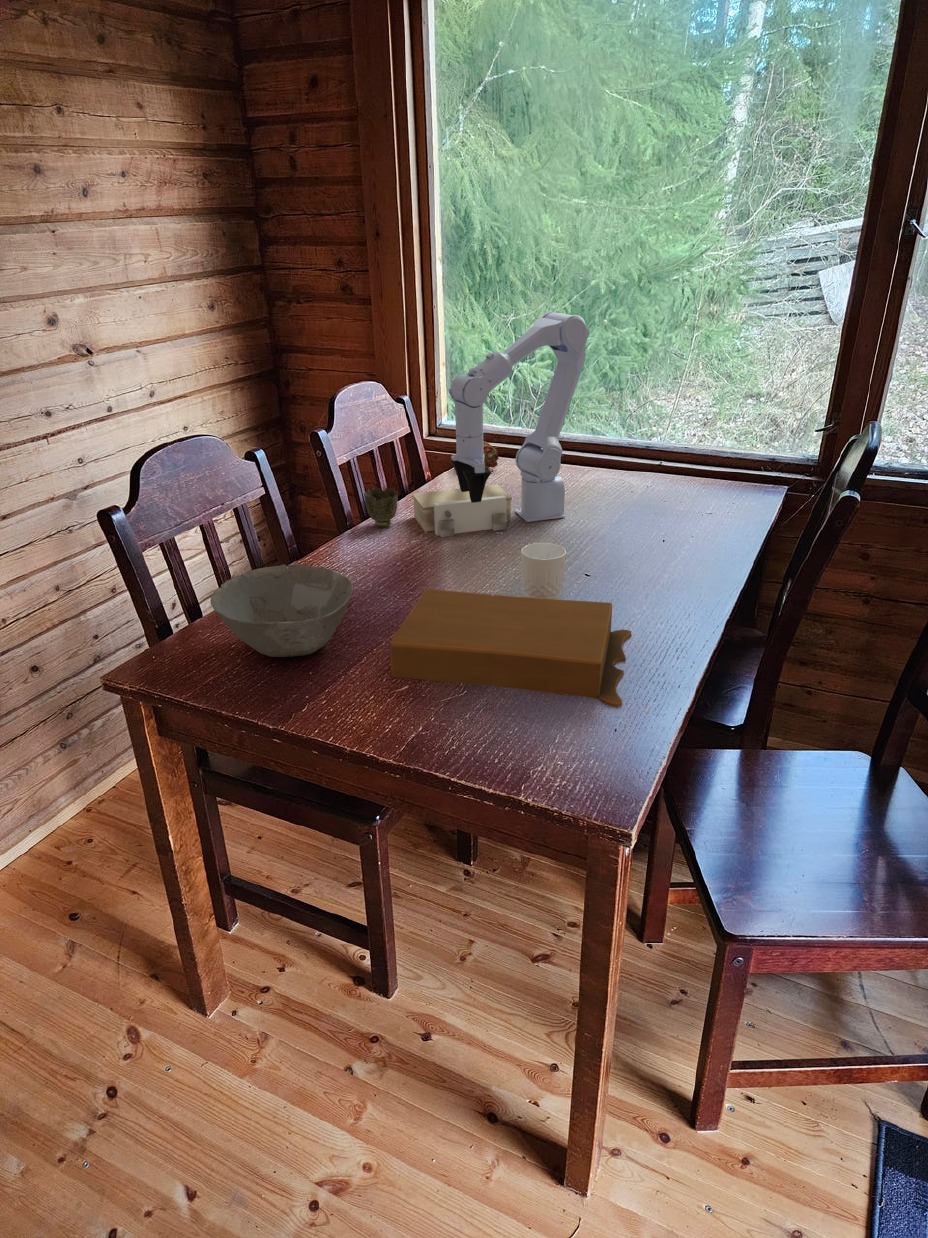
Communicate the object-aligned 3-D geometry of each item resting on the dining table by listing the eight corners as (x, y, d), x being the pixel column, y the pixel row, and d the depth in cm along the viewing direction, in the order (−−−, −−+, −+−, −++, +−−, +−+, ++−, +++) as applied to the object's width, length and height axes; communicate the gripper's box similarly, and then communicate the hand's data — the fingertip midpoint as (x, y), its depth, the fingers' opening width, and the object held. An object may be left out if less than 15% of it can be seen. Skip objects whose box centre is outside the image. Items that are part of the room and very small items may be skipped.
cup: (402, 520, 191) (400, 486, 187) (396, 532, 184) (394, 497, 181) (370, 520, 192) (367, 486, 188) (363, 531, 185) (360, 496, 182)
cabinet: (497, 507, 198) (497, 484, 195) (518, 527, 185) (518, 503, 183) (413, 516, 193) (412, 493, 190) (429, 538, 180) (428, 514, 178)
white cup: (568, 595, 153) (570, 545, 149) (558, 614, 146) (560, 561, 142) (526, 590, 155) (527, 540, 151) (515, 608, 149) (515, 556, 144)
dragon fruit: (499, 479, 223) (461, 480, 228) (508, 454, 226) (470, 456, 232) (487, 459, 216) (448, 460, 222) (497, 433, 219) (457, 435, 225)
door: (503, 525, 187) (503, 495, 184) (508, 529, 185) (508, 499, 182) (435, 533, 183) (433, 503, 180) (438, 538, 181) (437, 507, 178)
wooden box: (428, 584, 145) (633, 600, 137) (430, 618, 148) (631, 635, 140) (385, 648, 124) (624, 670, 117) (388, 685, 127) (621, 710, 120)
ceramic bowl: (296, 695, 124) (289, 636, 119) (190, 657, 135) (179, 601, 131) (386, 635, 141) (382, 581, 136) (284, 605, 152) (278, 554, 147)
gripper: (442, 427, 180) (444, 488, 187) (460, 444, 168) (462, 508, 174) (473, 424, 182) (474, 485, 188) (494, 441, 170) (494, 504, 176)
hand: (470, 496), depth 181 cm, fingers open, 7 cm apart
